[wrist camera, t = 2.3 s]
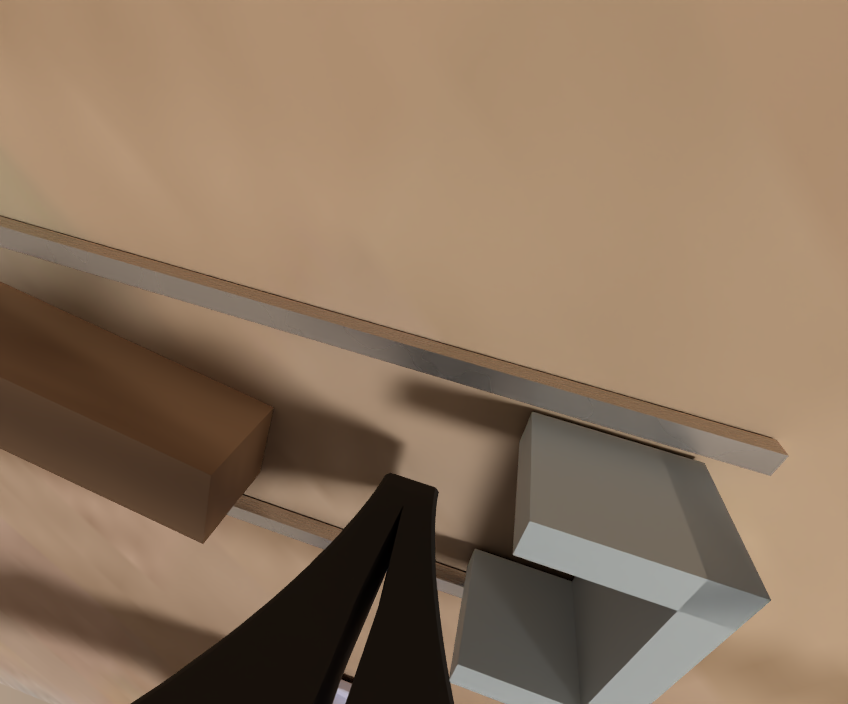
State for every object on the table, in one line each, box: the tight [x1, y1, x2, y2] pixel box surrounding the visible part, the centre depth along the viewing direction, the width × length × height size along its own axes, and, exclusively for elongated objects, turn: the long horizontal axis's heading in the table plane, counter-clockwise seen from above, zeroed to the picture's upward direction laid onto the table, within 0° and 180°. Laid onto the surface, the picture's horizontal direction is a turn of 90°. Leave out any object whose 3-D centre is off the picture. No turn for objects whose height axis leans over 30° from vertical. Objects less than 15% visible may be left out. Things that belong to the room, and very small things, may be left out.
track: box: [0, 216, 788, 598], centre depth 13 cm, size 9×29×1 cm, turn 79°
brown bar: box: [0, 282, 274, 544], centre depth 12 cm, size 3×10×3 cm, turn 70°
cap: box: [449, 412, 771, 704], centre depth 10 cm, size 6×4×3 cm, turn 169°
